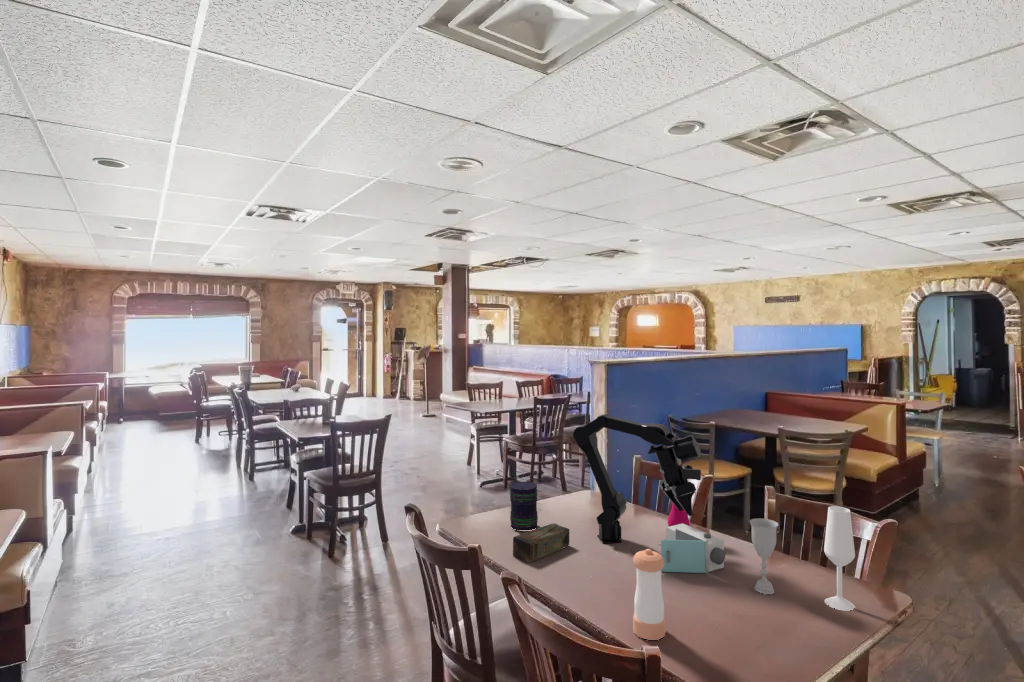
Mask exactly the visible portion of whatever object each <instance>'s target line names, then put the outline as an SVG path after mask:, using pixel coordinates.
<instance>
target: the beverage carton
mask: <svg viewBox="0 0 1024 682" xmlns="http://www.w3.org/2000/svg"><path fill="white" fill-rule="evenodd" d="M568 545H569V546H570V529H569V528H568V527H565V526H562V525H560V524H558V523H556V522H555V523H549V524H547V525H543V526H541V527H537V529H535V530H532V531H529V532H523V533H521V534H518V535H516V536H513V537H512V556H513V557H516V558H518V559H520V560H521V561H524V562H527V563H528V564H529V563H533V562H535V561H537V560H539V559H542V558H543V557H547V556H549V555H551V554H554V553H556V552H558V551H560V550H559V549H561V548H563V547H565V548H567V547H569V546H568ZM566 546H567V547H566ZM563 549H564V548H563ZM557 550H558V551H557ZM561 550H562V549H561ZM555 551H556V552H555ZM553 552H554V553H553ZM548 554H549V555H548ZM546 555H547V556H546Z"/></svg>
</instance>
